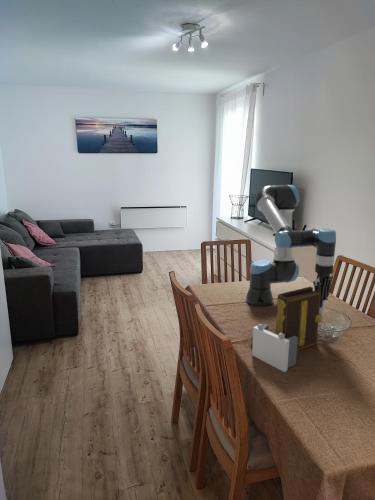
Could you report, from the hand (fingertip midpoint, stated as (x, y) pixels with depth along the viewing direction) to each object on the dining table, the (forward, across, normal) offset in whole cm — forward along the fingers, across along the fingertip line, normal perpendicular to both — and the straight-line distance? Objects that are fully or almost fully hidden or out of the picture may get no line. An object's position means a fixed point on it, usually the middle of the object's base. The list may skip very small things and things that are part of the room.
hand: (320, 313), depth 168 cm
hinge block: (+11, +29, -14) cm, 33 cm away
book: (+11, +17, 0) cm, 20 cm away
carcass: (+11, +34, -1) cm, 35 cm away
